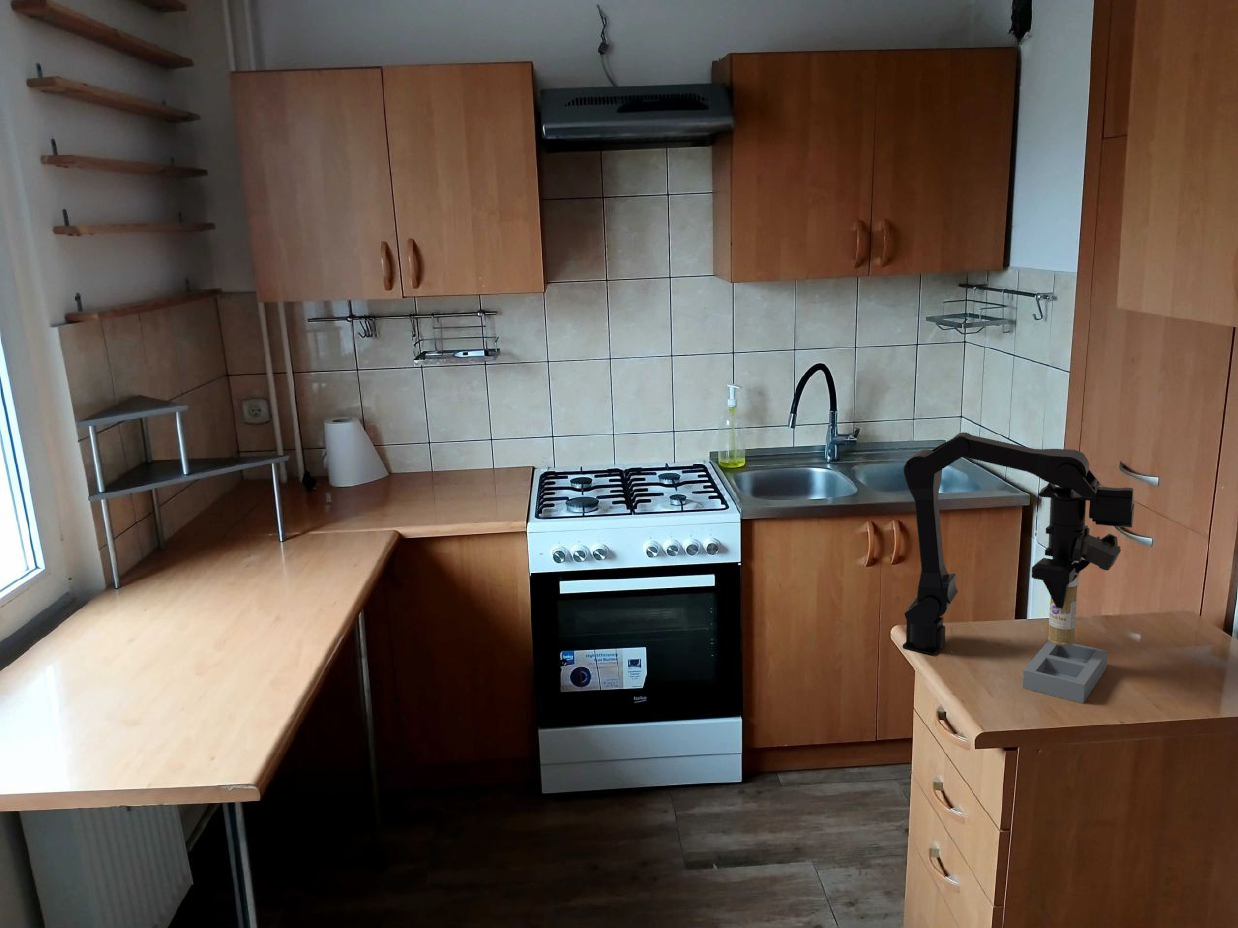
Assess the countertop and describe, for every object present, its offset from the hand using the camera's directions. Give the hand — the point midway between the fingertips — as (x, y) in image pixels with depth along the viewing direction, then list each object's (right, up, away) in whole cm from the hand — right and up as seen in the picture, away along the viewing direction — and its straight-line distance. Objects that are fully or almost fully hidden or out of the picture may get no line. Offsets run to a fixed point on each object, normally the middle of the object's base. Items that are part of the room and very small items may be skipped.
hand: (1063, 603), depth 168 cm
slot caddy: (0, -14, 0) cm, 14 cm away
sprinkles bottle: (0, -8, +2) cm, 8 cm away
